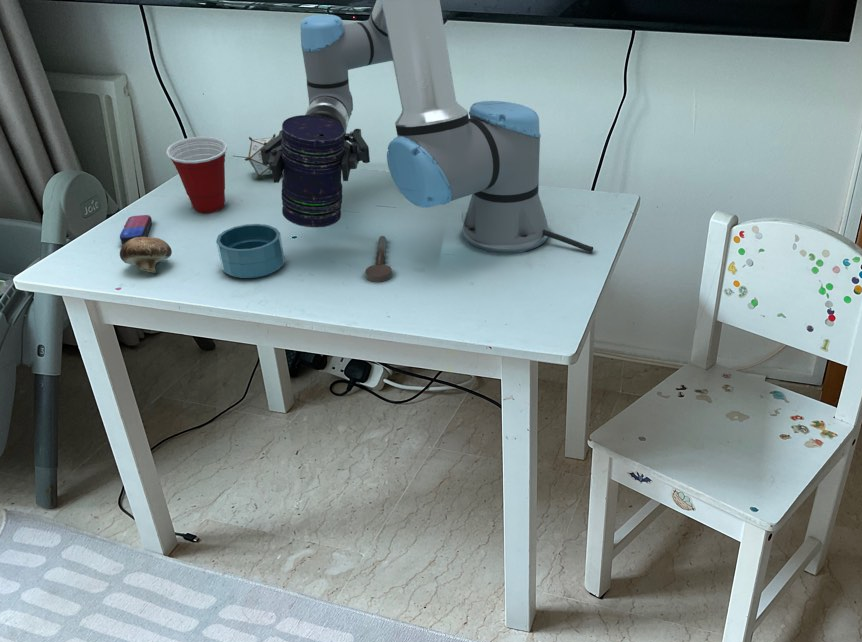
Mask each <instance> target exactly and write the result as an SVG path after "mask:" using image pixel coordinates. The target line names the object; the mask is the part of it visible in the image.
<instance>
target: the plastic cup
mask: <svg viewBox="0 0 862 642" xmlns="http://www.w3.org/2000/svg"><path fill="white" fill-rule="evenodd" d="M227 150H228V145H227V143H226V141H224V140H222V139H221V138H218V137H213V136H193V137H187V138H183V139H180V140H177V141H175V142H174V143H171V144H170V145H169V146H168V147H167V149H166V151H165V152H166V155H167V157H168V159H170V160H171V162H172V163H173V165H174V167H175V169H176V170H177V173H178V175H179V178H180V179H181V183H182V185H183V187H184V190H185V193H186V195H187V196H188V199H189V201H190V204H191V206H192V208H193V210H194V212H197V213H200V214H211V213H212V214H213V213H216V212H219V211H221V210H223V209H224V207H225V205H226V204H225V203H226V193H225V190H226V172H225V164H226V154H227V153H226V152H227Z"/></svg>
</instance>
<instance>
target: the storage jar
mask: <svg viewBox="0 0 862 642" xmlns="http://www.w3.org/2000/svg"><path fill="white" fill-rule="evenodd" d="M281 130H282V132H283V133H282V153H281V155H282V160H283V162H284V170H283V178H282V180H281V203H282V204H281V205H282V207H281V213H282V216H283V217H284V219H285V220H287V221H288V222H290V223H292V224H295V225H297V226H300V227H304V228H312V229H313V228H325V227H329V226H332V225H335V224H336V223H338V222H339V221H340V220H341V217H342V204H343V184H342V168H341V163H342V159H343V155H344V151H345V145H344V136H345V129H344V127H343V126H342V125H341V124H340V123H339V122H337V121H335V120H333V119H330V118H326V117H322V116H315V115H305V114H301V115H294V116H291V117H288V118H286V119H284V120H283V122H282V124H281Z"/></svg>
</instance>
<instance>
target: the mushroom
mask: <svg viewBox="0 0 862 642" xmlns="http://www.w3.org/2000/svg"><path fill="white" fill-rule="evenodd" d="M172 253H173V251H172V247H171V246H170V245H169V244H168V242H167V241H165V240H164V239H161V238H159V237H151V236H147V237H136V238H133V239H130V240H129V241H127V242H126V243H125V244H124V245H123V244H122V245H121V248H120V250H119V258H120V260H121V261H122V262H123V263H125V264H126V265H133V266H136V267H137V269H138V270H139V271H144V272H148V273H151V274H154V273H155V274H156V272H157V271H156V265H157V263H159V262H162V261H166V260H168V259H169V258H171V256H172Z"/></svg>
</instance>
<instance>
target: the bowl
mask: <svg viewBox="0 0 862 642" xmlns="http://www.w3.org/2000/svg"><path fill="white" fill-rule="evenodd" d="M282 242H283V241H282V235H281V232H280V231H279V230H278V228H277V227H275V226H272V225H269V224H261V223H248V224H241V225H236V226H233V227H230V228H228V229H225V230H223V231H222V232H221V233H219V234H218V235H217V237H216V240H215V243H216V248H217V252H218V257H219V262H220V267H221V269H222V271H223V272H224V273H225V274H227V275H229V276H231V277H235V278H240V279H256V278H262V277H265V276H268V275H271V274H272V273H274V272H276V271H278V270H279V269H280V268H281V267H283V266H284V263H285V254H284V253H285V252H284V247H283V243H282Z"/></svg>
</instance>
